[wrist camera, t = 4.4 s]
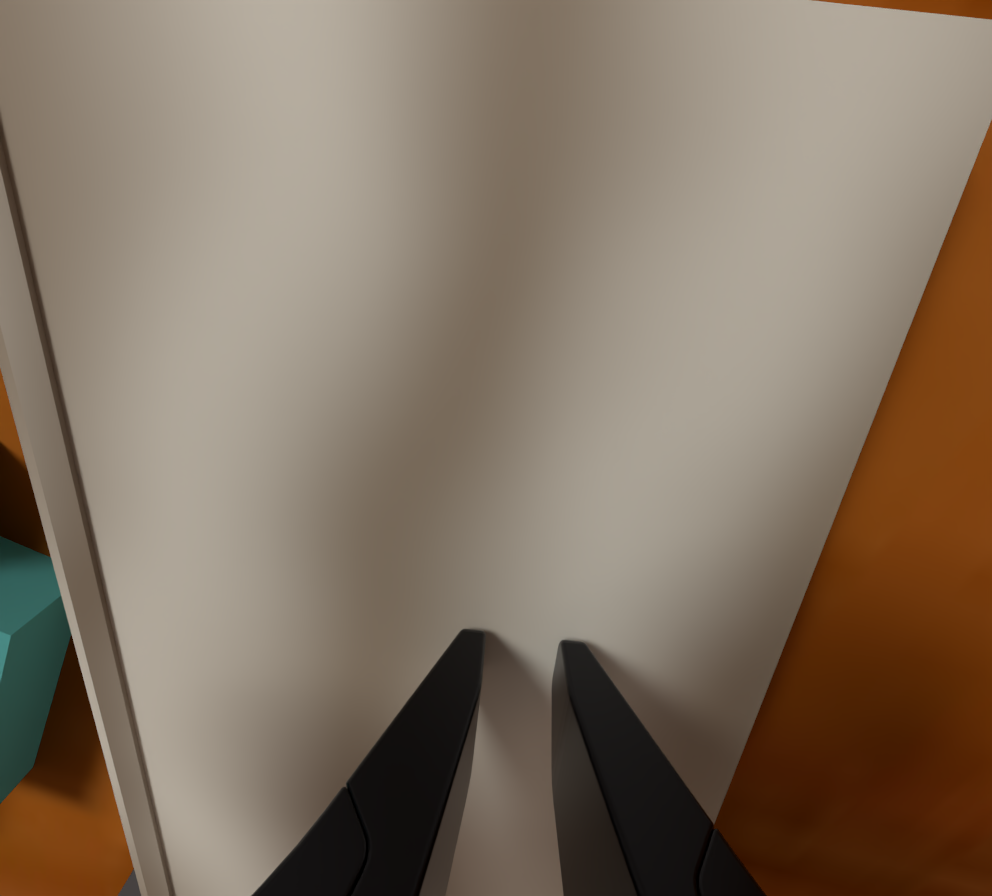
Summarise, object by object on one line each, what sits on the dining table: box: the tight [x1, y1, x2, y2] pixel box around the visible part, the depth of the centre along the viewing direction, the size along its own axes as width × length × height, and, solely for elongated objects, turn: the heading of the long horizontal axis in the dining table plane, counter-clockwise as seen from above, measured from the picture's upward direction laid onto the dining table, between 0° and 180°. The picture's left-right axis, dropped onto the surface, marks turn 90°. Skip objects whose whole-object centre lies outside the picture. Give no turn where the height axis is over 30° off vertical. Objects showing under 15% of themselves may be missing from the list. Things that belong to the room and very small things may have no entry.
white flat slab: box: [0, 0, 992, 896], centre depth 10 cm, size 12×18×2 cm, turn 174°
